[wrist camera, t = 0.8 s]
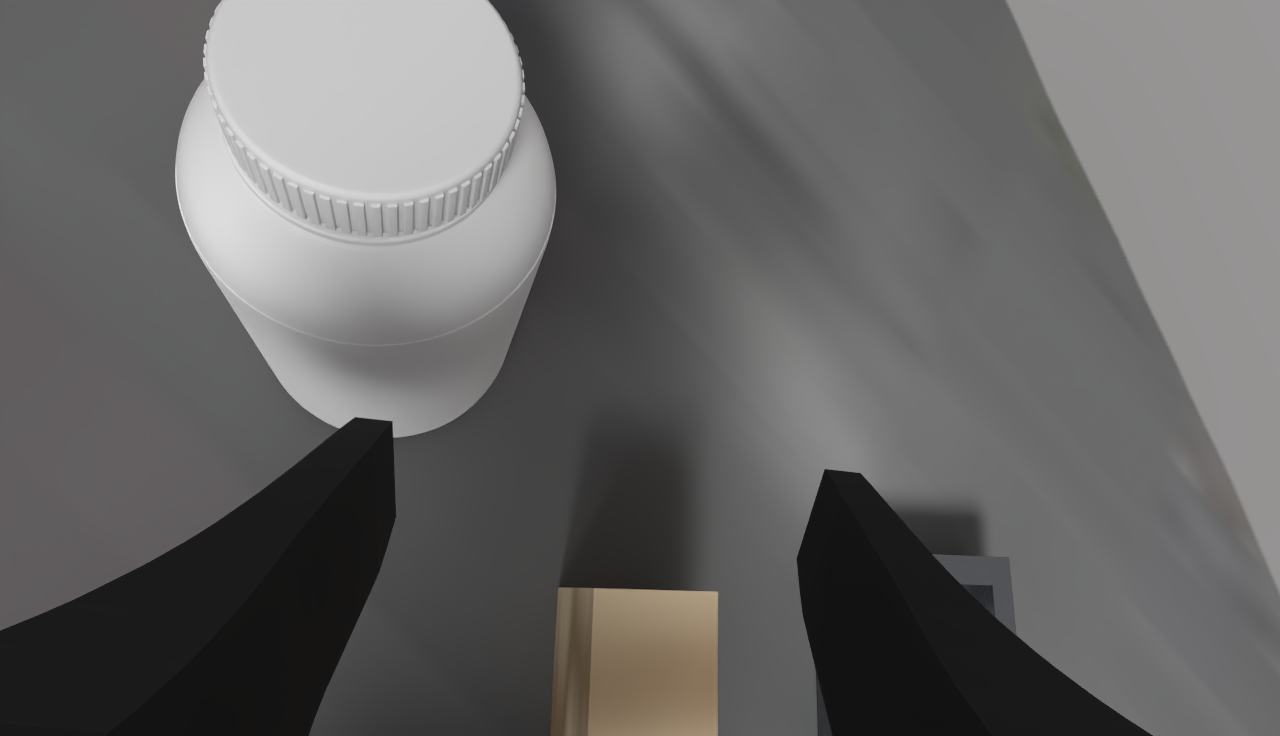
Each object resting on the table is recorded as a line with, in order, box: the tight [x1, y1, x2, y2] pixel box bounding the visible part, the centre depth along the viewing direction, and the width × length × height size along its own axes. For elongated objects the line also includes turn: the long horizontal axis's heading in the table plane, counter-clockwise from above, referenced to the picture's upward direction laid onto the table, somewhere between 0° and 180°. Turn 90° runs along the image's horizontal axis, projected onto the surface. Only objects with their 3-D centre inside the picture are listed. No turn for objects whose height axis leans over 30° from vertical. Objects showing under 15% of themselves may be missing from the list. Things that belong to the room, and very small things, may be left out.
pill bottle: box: [175, 0, 556, 438], centre depth 21 cm, size 8×8×15 cm
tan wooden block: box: [550, 587, 718, 736], centre depth 24 cm, size 5×4×6 cm, turn 179°
